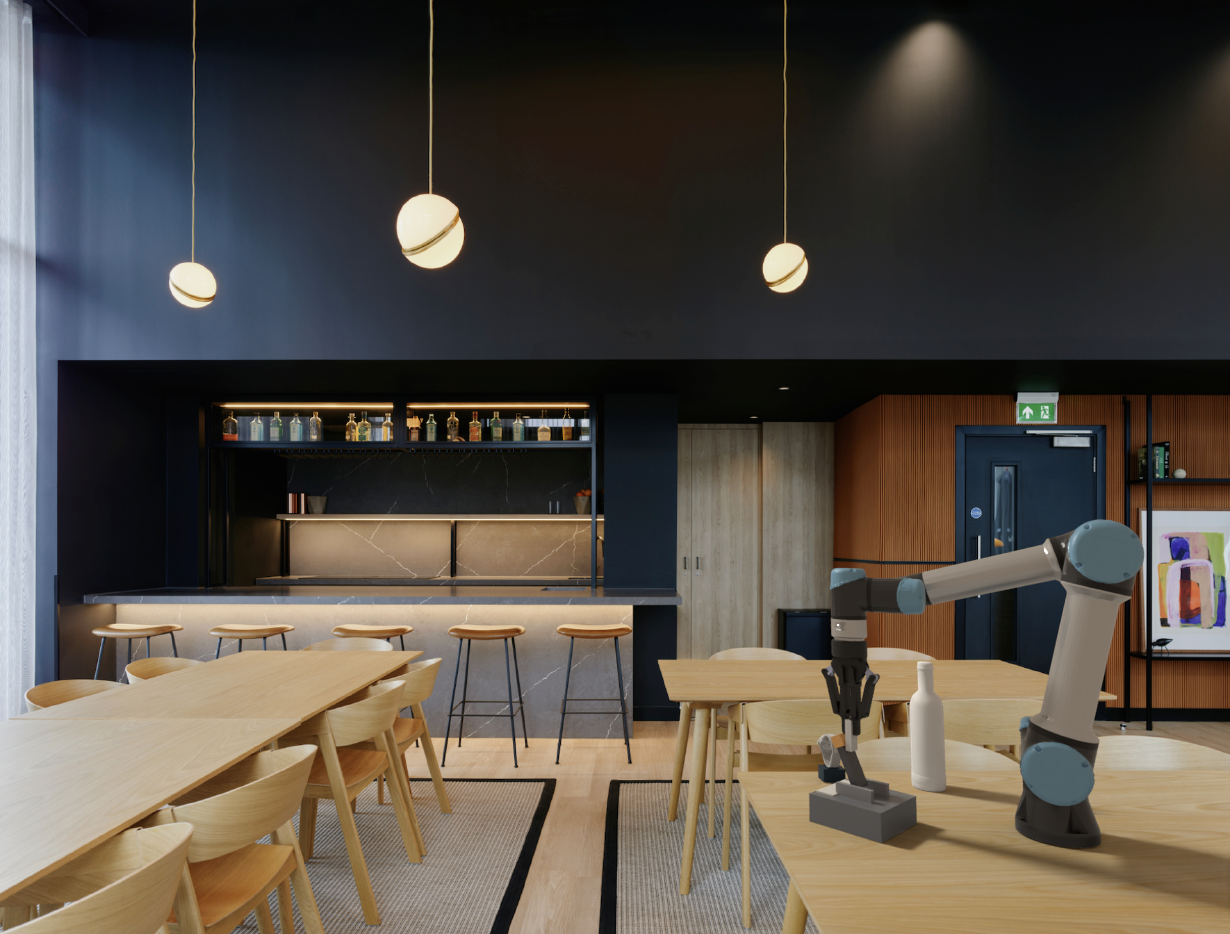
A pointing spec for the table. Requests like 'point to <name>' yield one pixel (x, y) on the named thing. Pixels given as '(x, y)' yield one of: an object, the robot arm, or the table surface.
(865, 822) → the box
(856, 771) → the lever
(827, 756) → the watch
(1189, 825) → the table surface
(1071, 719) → the robot arm
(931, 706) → the bottle
